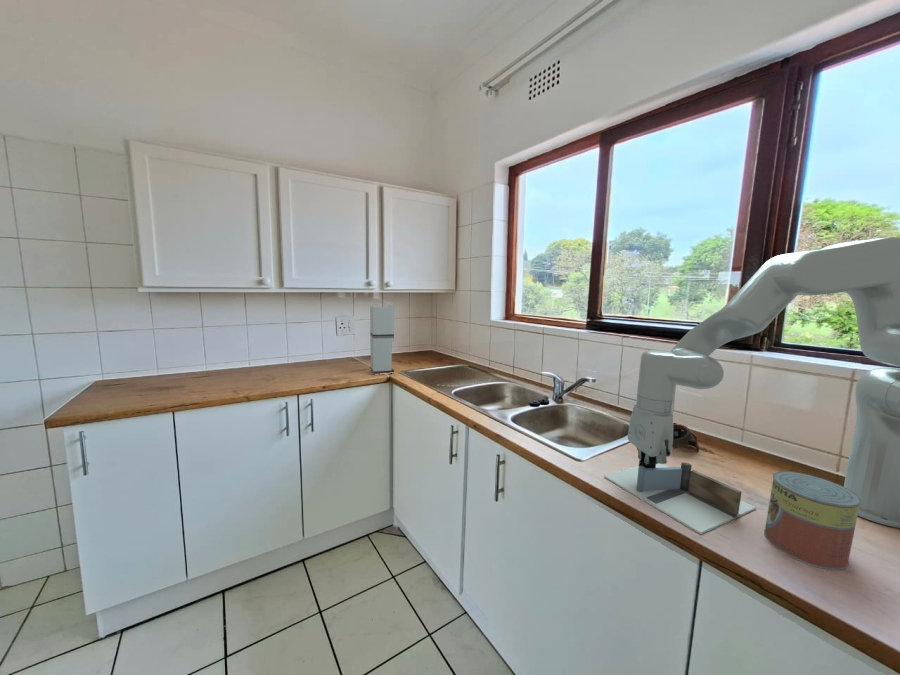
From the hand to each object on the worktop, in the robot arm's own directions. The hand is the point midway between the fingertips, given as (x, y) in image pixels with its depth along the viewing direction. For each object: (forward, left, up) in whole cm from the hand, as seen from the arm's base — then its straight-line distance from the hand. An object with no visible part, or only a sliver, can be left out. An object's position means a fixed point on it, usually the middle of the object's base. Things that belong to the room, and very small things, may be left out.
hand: (645, 477), depth 87 cm
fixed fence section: (-10, -6, -2) cm, 12 cm away
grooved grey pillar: (+133, +29, -2) cm, 136 cm away
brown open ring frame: (+10, -29, -3) cm, 31 cm away
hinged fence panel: (-3, 0, -1) cm, 3 cm away
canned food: (-26, -8, -2) cm, 28 cm away
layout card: (-5, -4, -2) cm, 6 cm away
